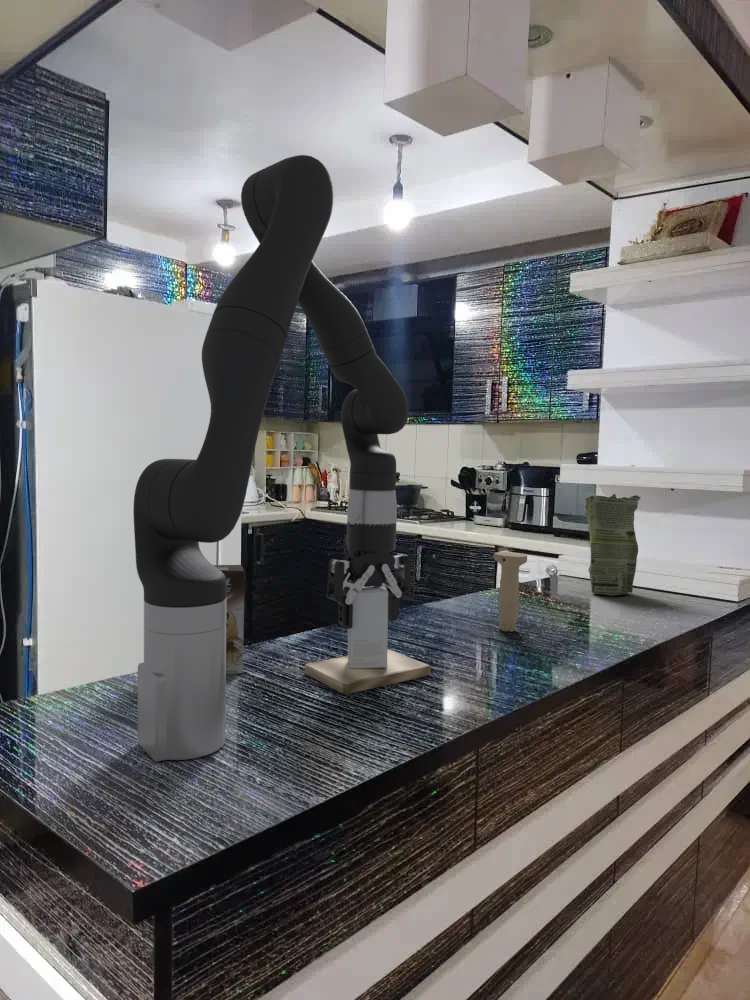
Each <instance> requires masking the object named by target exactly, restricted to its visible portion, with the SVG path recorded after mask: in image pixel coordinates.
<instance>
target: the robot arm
mask: <svg viewBox="0 0 750 1000" xmlns="http://www.w3.org/2000/svg"><path fill="white" fill-rule="evenodd" d="M329 173H330V172H329V171H328V169H327V167H326V166H325V165H324V164H323V163H322V162H321V161H320V160H319V159H318V158H315V157H313V156H311V155H306V154H301V155H300V154H299V155H293V156H290V157H286V158H284V159H282V160H280V161H277V162H275V163H273V164H270V165H269V166H267V167H264V168H262V169H260V170H258V171H256V172H254V173H253V174H250V175H249V176H248V177H247V178H246V180H245V181H244V183H243V185H242V188H241V193H240V199H241V200H240V202H241V208H242V211H243V215H244V216H245V220H246V221H247V224H248V226H249V228H250V229H251V231H252V233H253V235H254V237H255V239H256V240H257V242H259V245H258V246H257V248H256V249H255V251H254V252H253V253H252V254H251V256H250V257H249V258H248V260H247V261H246V262H245V264H244V265H243V266H242V267H241V268H240V269H239V271H238V273H236V275H235V277H233V279H231V281H230V283H229V284H228V285H227V287H226V288H225V290H224V291H223V293H222V294H221V296H220V298H219V299H218V301H217V304H216V306H215V308H214V311H213V313H212V317H211V319H210V322H209V324H208V328H207V330H206V334H205V337H204V341H203V344H202V348H201V365H202V372H203V377H204V379H205V385H206V389H207V393H208V397H209V404H210V415H209V416H210V417H209V423H208V426H207V431H206V434H205V437H204V440H203V443H202V446H201V449H200V452H199V453H198V455H197V457H196V459H192V458H190V459H189V458H188V459H186V458H164V459H162V458H161V459H158V460H155V461H153V462H151V463H150V464H149V465H147V466H146V467H145V469H143V471H142V472H141V474H140V475H139V478H138V480H137V483H136V485H135V491H134V496H133V531H134V547H135V548H134V549H135V550H134V551H135V566H136V572H137V576H138V578H139V580H140V583H141V585H142V589H143V662H139V663H138V665H137V744H138V745H139V746H140V747H141V749H143V750H144V751H145V752H146V753H147V755H148V756H149V757H150V758H151V760H152V761H154V762H160V761H161V762H162V761H167V760H168V761H174V760H175V761H179V760H180V761H181V760H182V761H183V760H191V759H198V758H201V757H206V756H208V755H211V754H213V753H215V752H218V751H219V750H220V749H221V748H222V747H223V746H224V745H225V743H226V728H227V720H226V715H227V714H226V712H227V711H226V709H227V708H226V706H227V705H226V703H227V702H226V701H227V700H226V699H227V697H226V696H227V692H226V691H227V689H226V688H227V687H226V686H227V685H226V684H227V678H226V677H227V674H226V606H227V598H226V597H227V581H226V577H225V575H224V573H223V572H222V571H220V570H219V569H218V568H216V567H215V566H213V565H214V564H212V563H211V562H210V561H209V560H208V559H207V558H206V557H205V556H204V554H203V552H202V550H201V549H200V543H206V544H211V543H217V542H220V541H223V540H224V539H225V538H226V537H228V536H229V535H230V534H231V533H232V531H233V530H234V528H235V526H237V523H238V521H239V519H240V516H241V513H242V510H243V507H244V504H245V501H246V500H245V499H246V495H247V493H248V492H247V490H248V486H249V481H250V476H251V471H252V466H253V460H254V455H255V451H256V445H257V440H258V435H259V432H260V429H261V424H262V420H263V417H264V413H265V409H266V406H267V402H268V398H269V395H270V391H271V388H272V385H273V382H274V378H275V376H276V374H277V370H278V368H279V365H280V361H281V359H282V355H283V352H284V349H285V345H286V342H287V338H288V335H289V330H290V327H291V323H292V319H293V317H294V313H295V311H296V308H297V305H298V306H299V307H300V308H301V310H302V312H303V314H304V316H305V317H306V319H307V321H308V322H309V325H310V327H311V328H312V331H313V333H314V335H315V337H316V339H317V342H318V344H319V346H320V348H321V350H322V353H323V355H324V357H325V360H326V362H327V363H328V366H329V368H330V371H331V373H332V374H333V376H334V378H336V379H337V381H339V382H341V383H345V384H348V385H351V386H352V387H353V388H355V389H353V390H351V391H350V392H349V393H348V394H347V395H346V397H345V398H344V400H343V403H342V407H341V411H340V412H341V415H340V419H341V427H342V431H343V436H344V440H345V441H344V442H345V446H346V451H347V453H348V458H349V463H350V465H349V466H350V470H349V491H348V492H349V494H348V500H347V511H346V512H347V516H346V517H347V518H346V549H347V552H348V555H347V557H346V559H345V560H339V559H333V558H331V559H330V560H329V562H328V570H327V586H326V598H327V599H329V600H332V601H335V602H337V604H338V607H337V608H338V609H337V612H338V613H337V614H338V615H337V616H338V617H337V621H338V624H340V627H341V628H344V629H345V630H348V629H351V628H352V623H353V605H352V604H351V603H352V601H353V599H354V598H355V596H356V594H357V593H359V592H360V591H361V590H362V588H363V587H370V586H385V587H386V589H387V591H388V622H393V623H394V622H397V621H398V618H399V615H400V603H401V602H400V601H401V600H400V599H401V597H402V596H403V594H406V593H407V594H408V593H410V592H411V589H412V584H411V581H412V580H411V579H412V578H411V573H412V572H411V556H410V555H407V554H403V553H398V552H397V553H396V554H395V555H394V552H395V549H396V545H397V544H396V543H397V519H398V518H397V514H398V513H397V512H398V505H397V504H398V503H397V494H396V488H397V486H396V485H397V460H396V457H395V454H393V453H392V452H390V451H387V450H384V449H382V447H381V443H380V440H379V435H392V434H393V435H394V434H396V433H398V432H400V431H401V430H403V429H404V427H405V426H406V424H407V422H408V418H409V403H408V400H407V397H406V394H405V392H404V390H403V388H402V387H401V385H400V384H399V382H398V381H397V380H396V378H395V376H394V375H393V374H392V373H391V371H390V370H389V368H388V367H387V365H386V364H385V363H384V362H383V360H382V359H381V358H380V356H378V354H377V352H376V349H375V347H374V344H373V342H372V339H371V337H370V334H369V333H368V332H369V331H368V329H367V326H366V324H365V323H364V321H363V319H362V317H361V315H360V313H359V311H358V309H357V308H356V307H355V305H354V304H353V303H352V301H351V300H350V299H349V298H348V297H347V296H346V295H345V294H344V292H342V291H341V290H340V289H339V288H338V287H336V285H334V284H333V282H332V281H330V279H328V277H326V275H325V274H324V273H323V272H322V271H321V270H320V269H319V267H318V266H317V265H316V264H315V262H314V261H313V259H314V257H315V254H316V252H317V250H318V248H319V246H320V243H321V241H322V240H323V237H324V235H325V232H326V230H327V227H328V226H329V222H330V220H331V217H332V214H333V211H334V210H333V209H334V200H335V199H334V197H335V194H334V186H333V182H332V178H331V175H330V174H329ZM393 568H394V575H393V573H392V571H393ZM347 571H348V573H347ZM345 574H347V575H346V577H345Z"/></svg>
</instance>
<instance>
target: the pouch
mask: <svg viewBox="0 0 750 1000" xmlns="http://www.w3.org/2000/svg"><path fill="white" fill-rule="evenodd" d="M640 500H641V496H639V495H637V494H636V495H631V496H630V497H625V496H623V497H619V498H618V497H617V495H616V494H615V493H613V494H612V495H611V496H604V495H590V496H588V497H586V498H585V503H586V504H585V506H584V508H585V511H584V513H585V516H586V519H587V524H588V527H587V530H588V533H589V542H588V543H589V549H590V561H589V563H590V564H589V566H588V567H589V568H588V569H587V570H588V573H589V581H590V587H591V593H593V594H596V595H603V596H604V595H605V596H611V597H612V596H613V597H614V596H623V595H627V593H628V594H629V593H631V594H633V589H634V588H633V585H634V579H635V575H636V569H637V562H638V554H639V544H638V541H637V538H636V531H635V523H634V521H635V512H636V510H638V505H639V501H640Z"/></svg>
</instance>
